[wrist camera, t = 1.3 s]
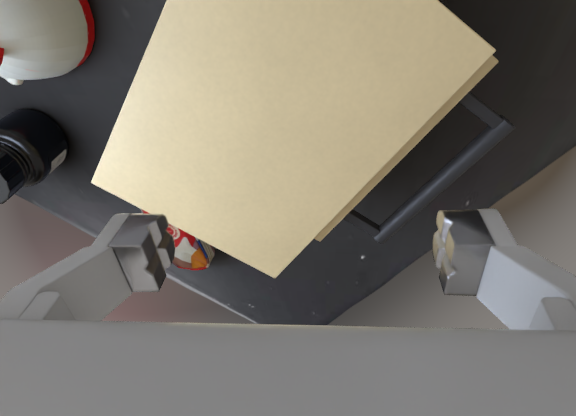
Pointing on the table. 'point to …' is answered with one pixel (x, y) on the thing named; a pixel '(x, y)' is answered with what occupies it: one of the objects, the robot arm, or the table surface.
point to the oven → (278, 113)
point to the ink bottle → (28, 150)
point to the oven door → (445, 176)
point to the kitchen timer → (43, 38)
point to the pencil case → (189, 250)
